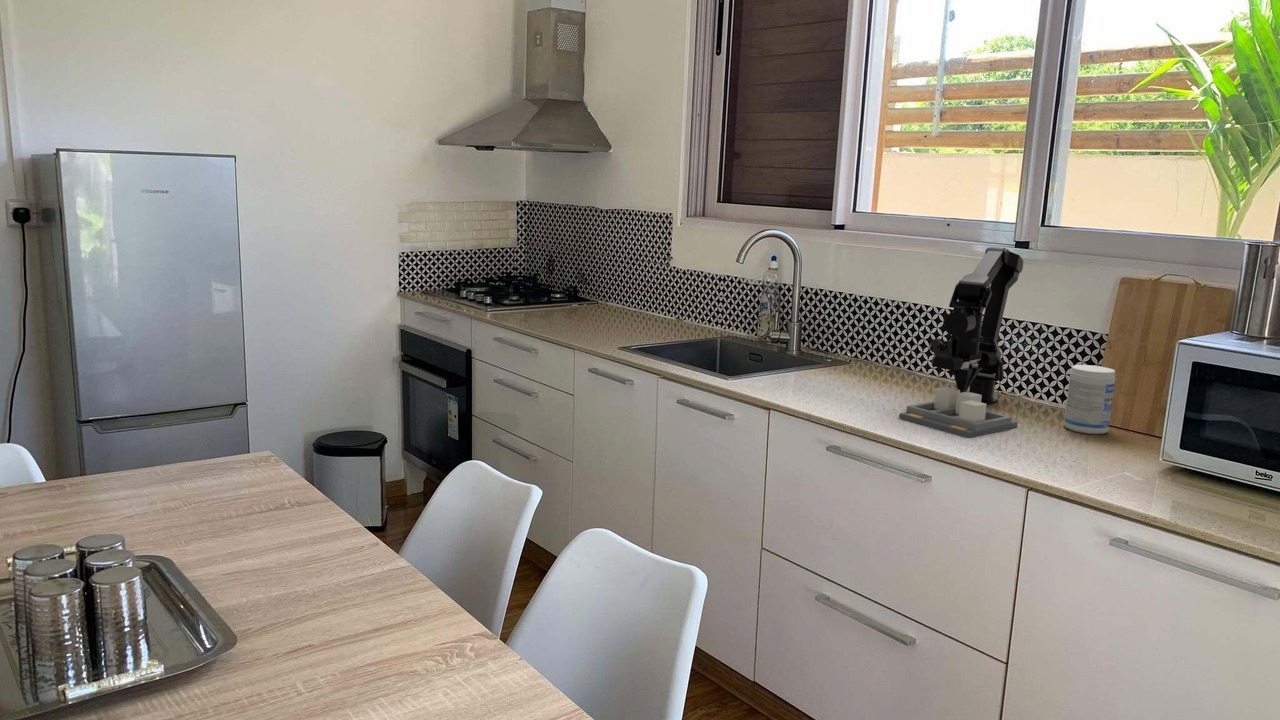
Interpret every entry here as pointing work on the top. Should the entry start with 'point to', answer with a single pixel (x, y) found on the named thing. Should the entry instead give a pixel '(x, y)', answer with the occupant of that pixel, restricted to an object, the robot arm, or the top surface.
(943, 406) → the beige grey rectangular block
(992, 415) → the grey compartment tray
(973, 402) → the light grey block
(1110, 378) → the supplement tub
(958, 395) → the light grey block
